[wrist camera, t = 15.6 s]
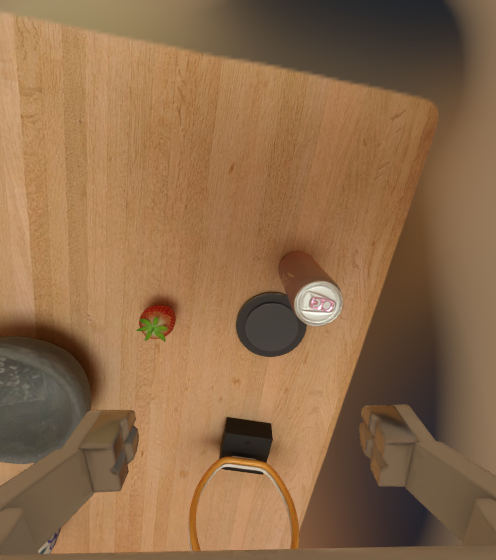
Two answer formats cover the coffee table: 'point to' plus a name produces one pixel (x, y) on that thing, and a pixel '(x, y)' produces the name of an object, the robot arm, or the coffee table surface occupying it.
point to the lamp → (244, 468)
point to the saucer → (269, 325)
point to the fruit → (157, 322)
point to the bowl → (38, 398)
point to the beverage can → (310, 289)
